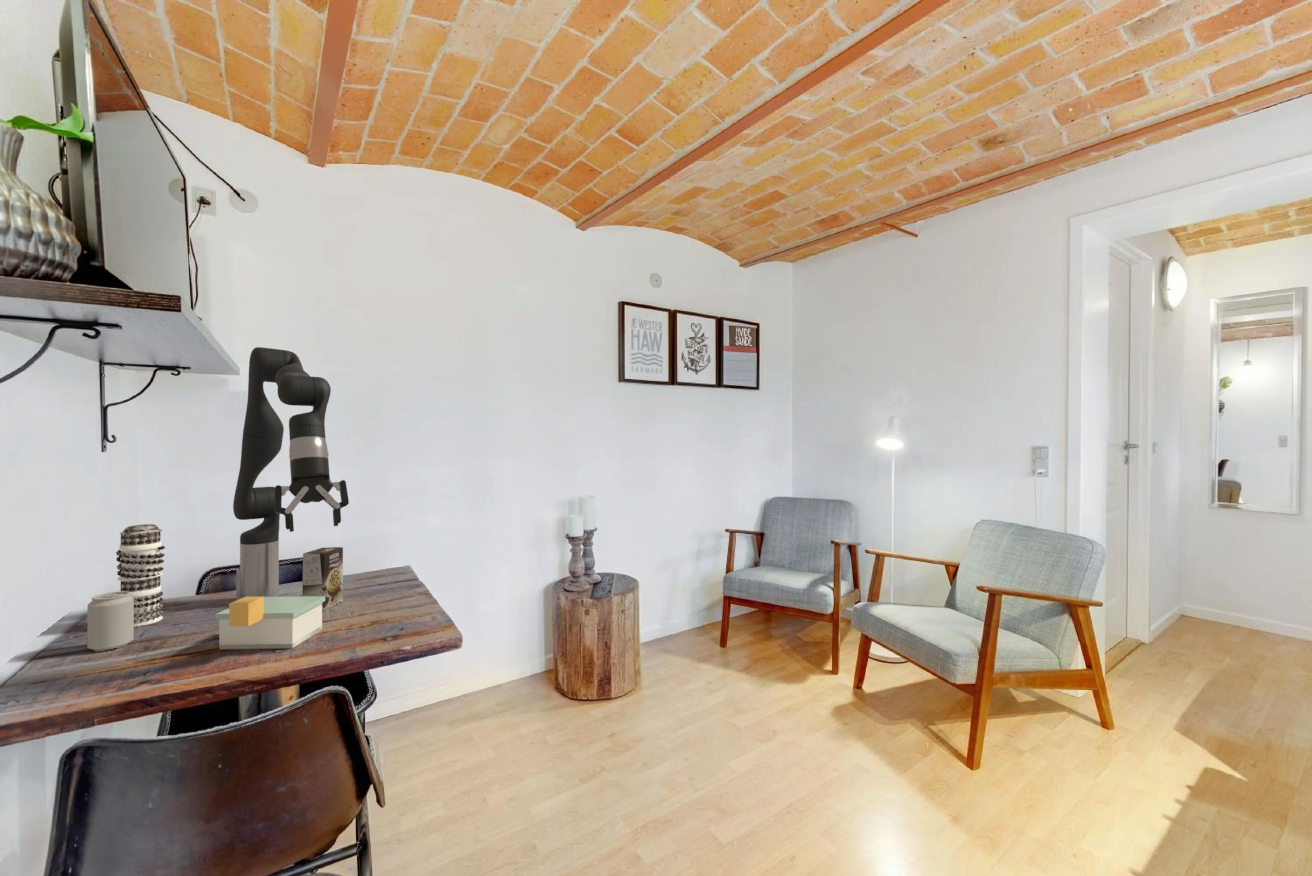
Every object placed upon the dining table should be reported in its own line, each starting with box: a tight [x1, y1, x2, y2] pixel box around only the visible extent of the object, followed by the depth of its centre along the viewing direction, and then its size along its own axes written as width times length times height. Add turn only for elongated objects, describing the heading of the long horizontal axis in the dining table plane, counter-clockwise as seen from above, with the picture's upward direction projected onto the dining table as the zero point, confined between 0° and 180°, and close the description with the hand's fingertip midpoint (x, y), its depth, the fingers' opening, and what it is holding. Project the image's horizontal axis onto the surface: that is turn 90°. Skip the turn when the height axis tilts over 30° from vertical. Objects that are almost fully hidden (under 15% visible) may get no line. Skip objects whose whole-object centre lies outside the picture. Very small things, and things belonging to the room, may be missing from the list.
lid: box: [214, 596, 325, 627], centre depth 127 cm, size 17×18×6 cm
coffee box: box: [302, 546, 344, 612], centre depth 154 cm, size 9×6×16 cm
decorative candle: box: [115, 523, 166, 628], centre depth 141 cm, size 9×9×25 cm
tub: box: [218, 603, 323, 650], centre depth 129 cm, size 16×12×7 cm
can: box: [86, 590, 135, 651], centre depth 124 cm, size 8×8×12 cm
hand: (314, 528), depth 123 cm, fingers open, 8 cm apart
